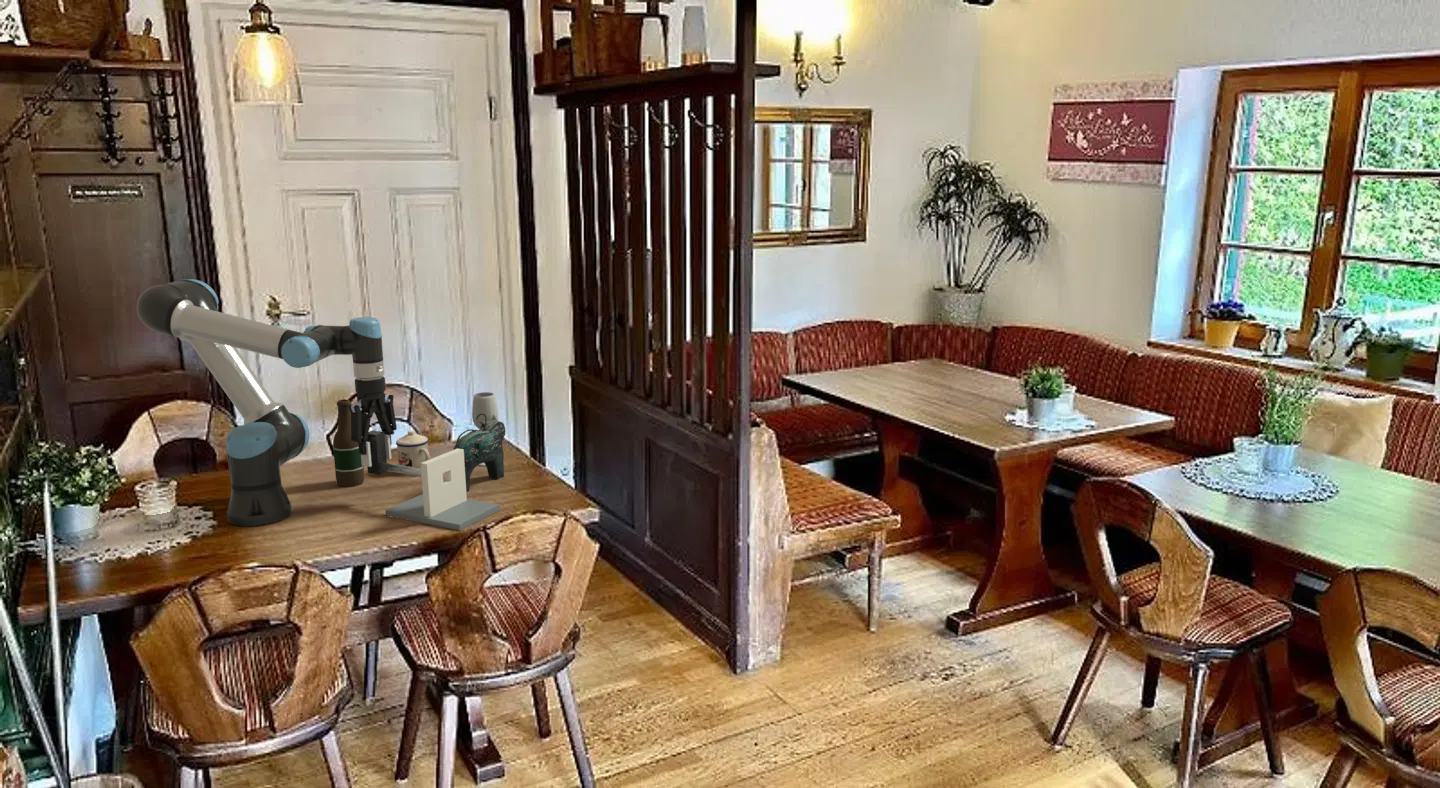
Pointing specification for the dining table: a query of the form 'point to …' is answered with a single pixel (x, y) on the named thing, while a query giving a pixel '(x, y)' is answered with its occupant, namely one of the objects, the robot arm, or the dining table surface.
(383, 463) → the hook rod
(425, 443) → the teacup with lid
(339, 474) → the beer bottle
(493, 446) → the green animal figurine
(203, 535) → the dining table surface
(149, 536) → the dining table surface
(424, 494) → the panel with square hole
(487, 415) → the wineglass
